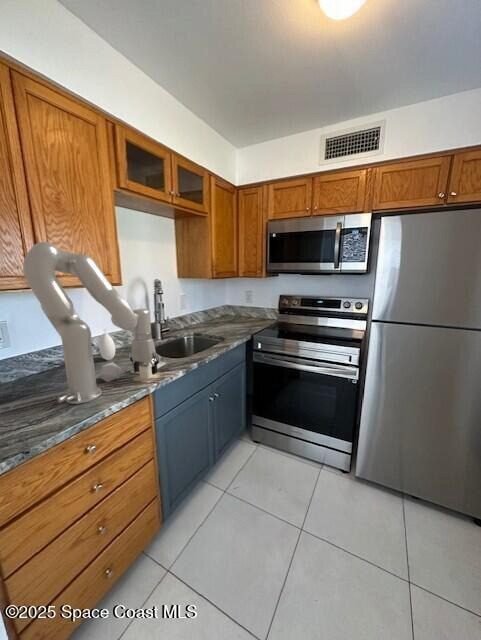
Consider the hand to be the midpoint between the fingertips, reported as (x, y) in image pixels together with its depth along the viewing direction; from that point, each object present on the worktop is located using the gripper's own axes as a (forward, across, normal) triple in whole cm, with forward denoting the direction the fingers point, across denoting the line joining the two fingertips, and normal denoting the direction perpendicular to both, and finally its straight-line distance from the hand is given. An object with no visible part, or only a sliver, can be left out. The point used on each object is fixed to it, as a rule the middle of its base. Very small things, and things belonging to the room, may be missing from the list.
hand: (145, 372), depth 122 cm
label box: (+2, 0, 0) cm, 3 cm away
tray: (+3, -7, +11) cm, 14 cm away
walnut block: (+3, -7, +7) cm, 10 cm away
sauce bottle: (+3, -38, +16) cm, 41 cm away
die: (+3, -15, -6) cm, 16 cm away
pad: (+3, 0, 0) cm, 3 cm away
